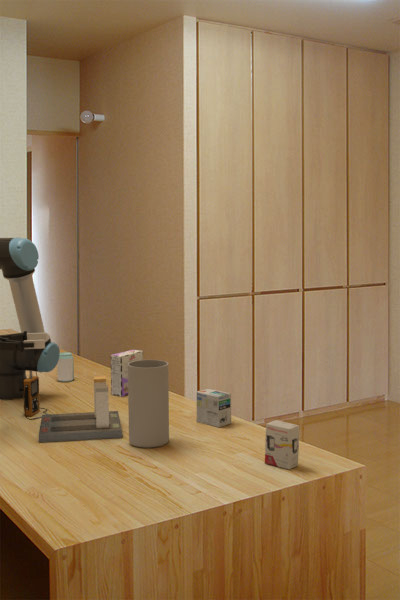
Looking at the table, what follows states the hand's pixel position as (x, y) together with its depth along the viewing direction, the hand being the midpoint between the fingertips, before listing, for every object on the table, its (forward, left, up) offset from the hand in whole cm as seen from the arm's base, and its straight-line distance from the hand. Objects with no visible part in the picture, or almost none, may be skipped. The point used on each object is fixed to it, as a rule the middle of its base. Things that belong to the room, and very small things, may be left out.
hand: (45, 340), depth 232 cm
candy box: (-42, +30, -30) cm, 59 cm away
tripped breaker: (0, +18, -27) cm, 32 cm away
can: (-68, +5, -30) cm, 74 cm away
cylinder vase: (+23, +32, -30) cm, 49 cm away
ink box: (+50, +67, -30) cm, 89 cm away
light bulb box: (+6, +56, -30) cm, 63 cm away
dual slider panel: (+6, +11, -30) cm, 32 cm away
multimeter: (-16, -3, -30) cm, 34 cm away
